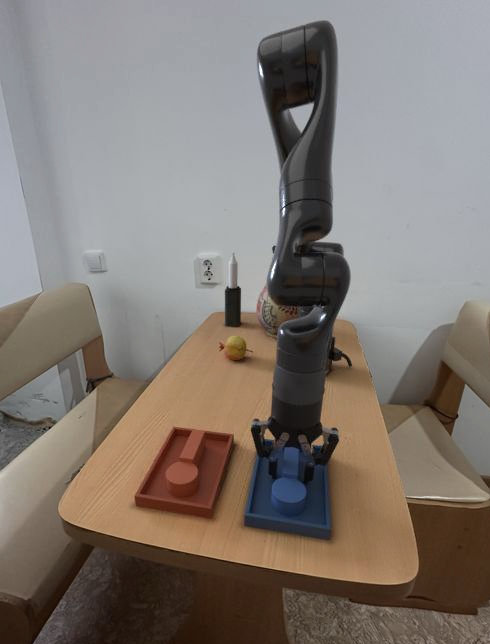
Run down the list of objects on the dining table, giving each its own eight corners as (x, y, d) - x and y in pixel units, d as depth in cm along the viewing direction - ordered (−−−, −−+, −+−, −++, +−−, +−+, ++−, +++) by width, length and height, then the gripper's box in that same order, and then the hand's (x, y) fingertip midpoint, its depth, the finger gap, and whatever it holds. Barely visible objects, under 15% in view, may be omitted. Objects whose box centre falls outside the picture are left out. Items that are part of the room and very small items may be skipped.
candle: (238, 327, 129) (239, 254, 119) (224, 326, 130) (224, 253, 120) (241, 322, 134) (242, 251, 123) (227, 321, 135) (227, 250, 124)
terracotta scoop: (186, 443, 71) (185, 428, 70) (213, 447, 70) (212, 431, 69) (162, 494, 60) (160, 477, 58) (193, 499, 59) (192, 482, 57)
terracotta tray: (173, 435, 74) (173, 426, 74) (233, 442, 72) (233, 434, 71) (135, 506, 58) (134, 495, 57) (211, 519, 56) (211, 508, 55)
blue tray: (259, 446, 71) (259, 437, 70) (325, 455, 69) (326, 446, 68) (244, 525, 55) (244, 515, 54) (329, 540, 53) (331, 529, 52)
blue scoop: (276, 456, 68) (277, 440, 66) (305, 460, 67) (307, 444, 65) (269, 513, 56) (270, 495, 55) (304, 519, 55) (306, 501, 54)
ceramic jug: (254, 325, 131) (257, 237, 119) (298, 325, 131) (305, 237, 118) (256, 344, 116) (259, 245, 103) (306, 345, 115) (315, 245, 103)
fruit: (256, 336, 106) (222, 332, 109) (251, 339, 100) (215, 335, 102) (253, 359, 108) (220, 355, 110) (248, 364, 101) (213, 359, 104)
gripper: (345, 382, 57) (332, 468, 64) (253, 373, 60) (250, 457, 67) (350, 408, 51) (335, 501, 58) (246, 397, 53) (244, 487, 60)
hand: (289, 477), depth 62 cm, fingers open, 4 cm apart
